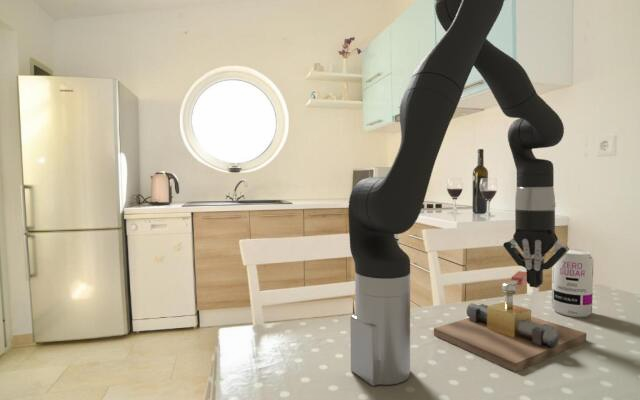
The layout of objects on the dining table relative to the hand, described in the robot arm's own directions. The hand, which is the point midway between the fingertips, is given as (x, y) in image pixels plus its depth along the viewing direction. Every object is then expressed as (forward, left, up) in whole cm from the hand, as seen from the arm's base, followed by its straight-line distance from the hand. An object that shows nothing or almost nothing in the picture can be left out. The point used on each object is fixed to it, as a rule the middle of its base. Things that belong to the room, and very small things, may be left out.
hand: (534, 286), depth 82 cm
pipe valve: (-10, 0, -9) cm, 14 cm away
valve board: (-10, 0, -9) cm, 14 cm away
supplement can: (+17, +1, -9) cm, 19 cm away
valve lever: (-4, +2, 0) cm, 5 cm away
